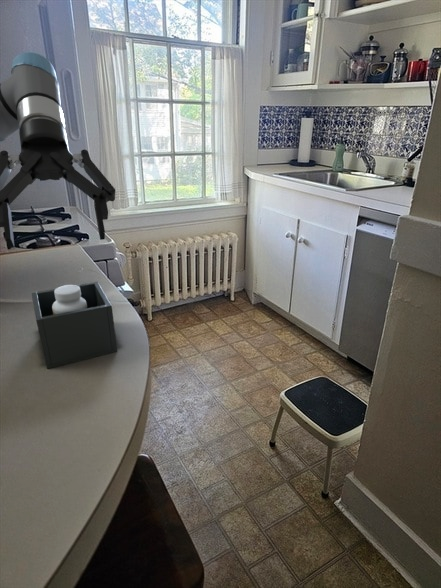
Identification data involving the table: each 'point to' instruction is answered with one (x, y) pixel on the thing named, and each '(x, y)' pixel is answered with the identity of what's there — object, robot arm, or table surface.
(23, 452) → the table surface
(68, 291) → the pill bottle
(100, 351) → the trash bin
